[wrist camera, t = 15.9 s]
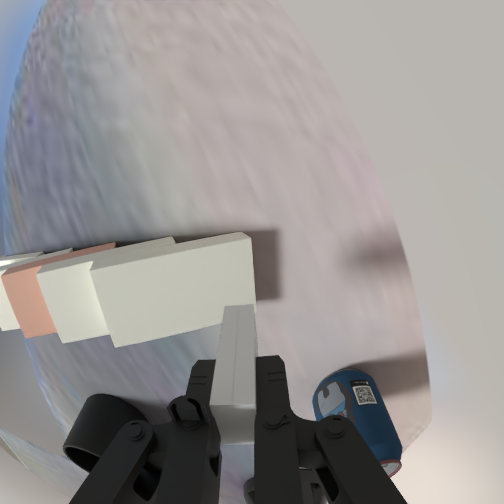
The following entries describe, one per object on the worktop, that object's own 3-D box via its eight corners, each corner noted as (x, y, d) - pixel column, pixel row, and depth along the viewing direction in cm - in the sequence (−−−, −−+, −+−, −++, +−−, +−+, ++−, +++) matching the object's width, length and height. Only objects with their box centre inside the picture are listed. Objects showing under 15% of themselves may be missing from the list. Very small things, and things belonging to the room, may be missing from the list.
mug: (161, 448, 32) (149, 497, 24) (86, 416, 30) (65, 461, 22) (176, 420, 29) (162, 480, 21) (87, 382, 27) (58, 434, 19)
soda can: (356, 405, 28) (383, 486, 17) (302, 405, 28) (317, 497, 17) (380, 363, 26) (423, 451, 15) (321, 362, 26) (350, 466, 14)
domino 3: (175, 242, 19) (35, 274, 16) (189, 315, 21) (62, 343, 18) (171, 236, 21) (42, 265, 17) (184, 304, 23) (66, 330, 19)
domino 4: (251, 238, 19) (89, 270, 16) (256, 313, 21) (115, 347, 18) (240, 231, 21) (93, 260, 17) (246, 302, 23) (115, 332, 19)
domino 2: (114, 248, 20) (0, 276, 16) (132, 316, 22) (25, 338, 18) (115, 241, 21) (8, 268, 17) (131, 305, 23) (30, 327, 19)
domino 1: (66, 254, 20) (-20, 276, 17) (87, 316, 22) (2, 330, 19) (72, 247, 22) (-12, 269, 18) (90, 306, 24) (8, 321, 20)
